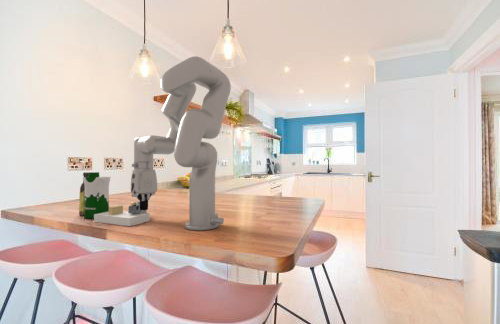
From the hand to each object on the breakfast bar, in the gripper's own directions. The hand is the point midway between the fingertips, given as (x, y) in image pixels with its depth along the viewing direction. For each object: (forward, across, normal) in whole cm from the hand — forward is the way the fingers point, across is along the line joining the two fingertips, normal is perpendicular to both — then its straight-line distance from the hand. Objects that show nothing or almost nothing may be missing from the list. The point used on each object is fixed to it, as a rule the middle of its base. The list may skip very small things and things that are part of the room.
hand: (143, 209), depth 103 cm
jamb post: (+4, +2, +7) cm, 8 cm away
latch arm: (+1, -1, +4) cm, 4 cm away
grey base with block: (+4, -6, +6) cm, 9 cm away
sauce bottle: (+4, -5, +34) cm, 35 cm away
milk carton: (+4, -6, +24) cm, 25 cm away
